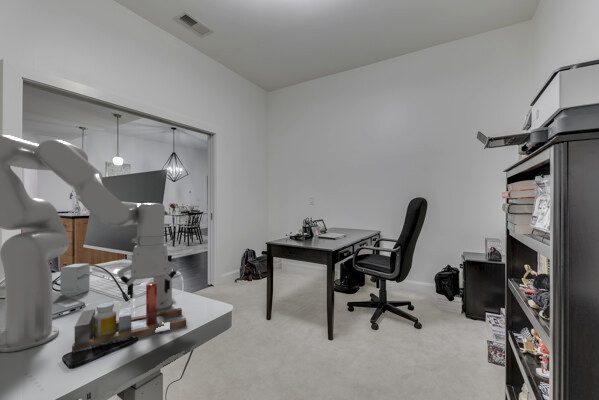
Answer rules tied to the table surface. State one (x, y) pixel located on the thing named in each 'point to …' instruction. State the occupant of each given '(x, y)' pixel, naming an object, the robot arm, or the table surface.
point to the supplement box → (74, 279)
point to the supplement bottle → (104, 320)
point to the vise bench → (86, 328)
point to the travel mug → (164, 298)
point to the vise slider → (151, 312)
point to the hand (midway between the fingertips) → (149, 294)
